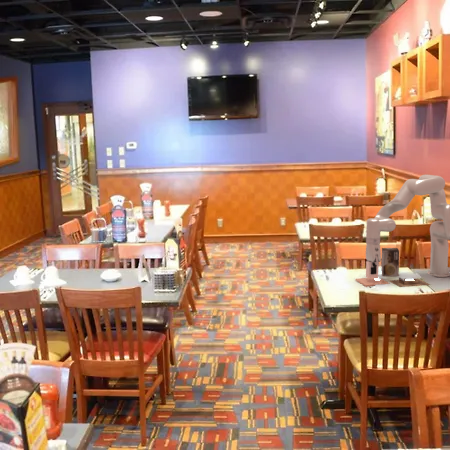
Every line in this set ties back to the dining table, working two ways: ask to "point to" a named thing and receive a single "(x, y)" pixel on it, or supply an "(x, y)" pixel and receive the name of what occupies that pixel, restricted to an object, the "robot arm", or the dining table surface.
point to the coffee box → (390, 262)
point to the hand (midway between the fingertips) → (372, 273)
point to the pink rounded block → (368, 270)
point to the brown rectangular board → (408, 282)
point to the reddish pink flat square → (370, 282)
